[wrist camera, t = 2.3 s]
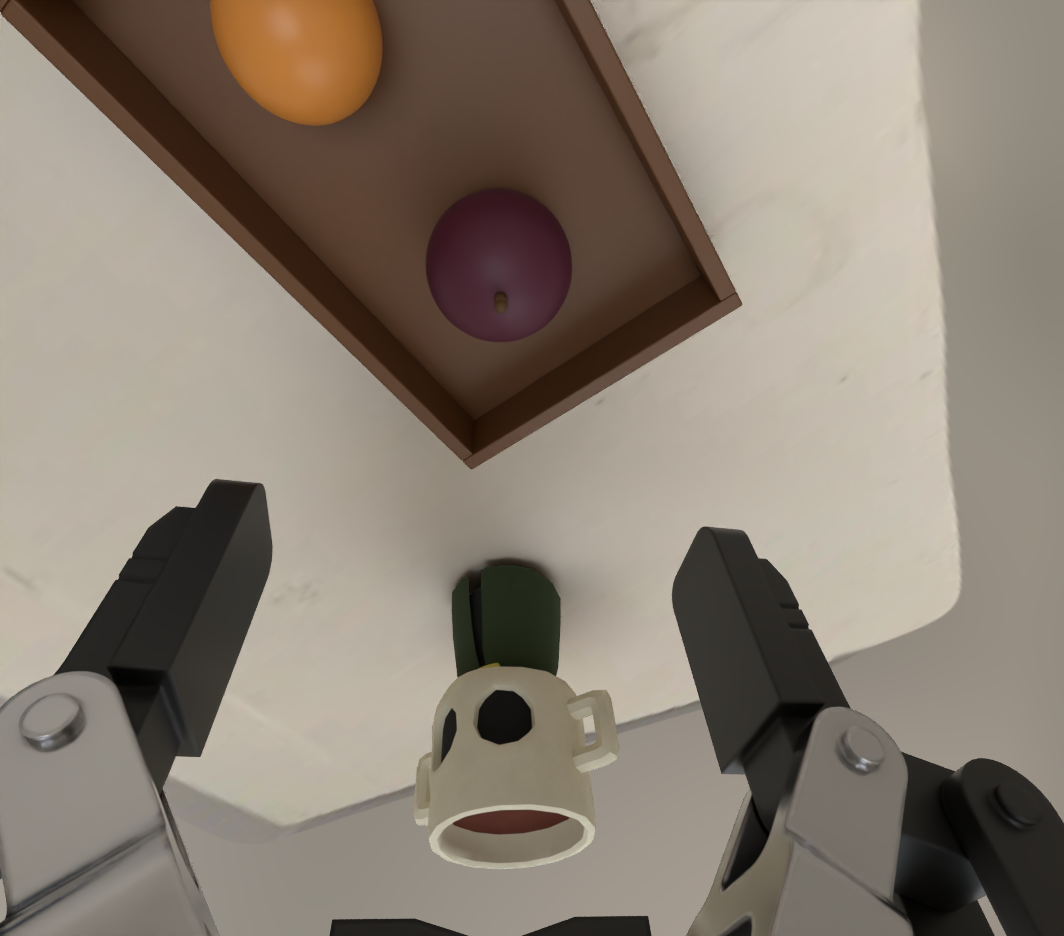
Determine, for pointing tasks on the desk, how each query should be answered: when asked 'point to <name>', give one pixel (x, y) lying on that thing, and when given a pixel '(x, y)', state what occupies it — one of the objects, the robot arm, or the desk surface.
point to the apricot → (301, 54)
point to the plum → (498, 265)
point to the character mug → (511, 734)
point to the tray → (422, 189)
